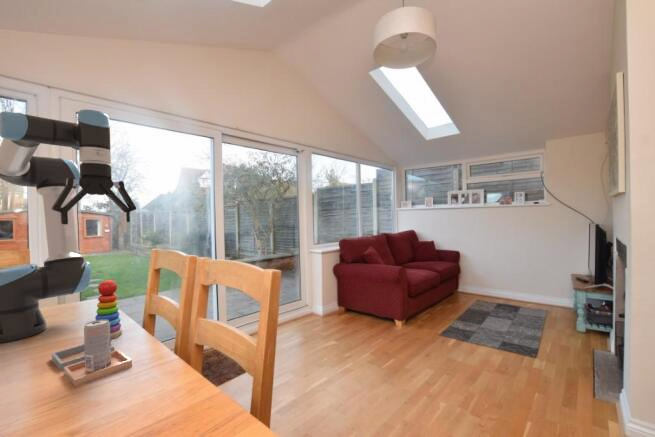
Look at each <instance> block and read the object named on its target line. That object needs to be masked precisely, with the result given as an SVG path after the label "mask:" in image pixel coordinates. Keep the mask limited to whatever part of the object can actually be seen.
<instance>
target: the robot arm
mask: <svg viewBox="0 0 655 437" xmlns="http://www.w3.org/2000/svg"><path fill="white" fill-rule="evenodd" d="M76 120H77V123H75V122H70V121H64V120H59V119H51V118H46V117H41V116H36V115H30V114H24V113H21V112H12V111H6V110H5V111H1V112H0V138H3V139H2V141H1V143H0V179H1V180H3V181H5V182H6V183H9V184H11V185H14V186H20V187H29V188H30V187H32V188H36V193H37V194H39V195H40V196H42V202H43V204H42V205H43V212H44V213H43V214H44V224H45V234H46V243H47V253H48V254H47V255H48V256H47V258H46V259H45V260H43V266H39V265H38V264H37V263H26V264H20V265H15V266H14V265H13V266H9V267H5V268H2V269H0V344H1V343H7V342H13V341H17V340H22V339H25V338H29V337H32V336H35V335H38V334H41V333H42V332H44V331H45V330H46V329H47V320H46V319H45V317H44V315H43V313H42V311H41V309H40V306H39V305H40V303H39V301H40V300H45V299H52V298H56V297H57V298H58V297H62V296H68V295H74V294H77V293H78V294H79V293H81V292H82V293H83V292H84V291H86V290H87V289H88V288H89V286H90V283H91V279H92V266H91V263H90V262H89V261H87V260H85V258H84V256H83V255H81V254H79V249H78V240H77V231H76V230H77V229H76V222H75V212H74V207H75V205H77V203H79V202H80V201H81V200H82V199H83V198H84V197H85V196H86V195H90V196H94V195H98V196H105V195H106V196H107V197H108V198H109V199H110V200H111V201H112V202H113V203H114V204H115V205H116V206H118V208H120V210H121V211H122V212H120V233H122V234H128V227H127V226H128V225H127V224H128V223H130V221H131V215H130V214H131V212H133V211H136V210H137V207H136V206H137V205H135V203H134V201H133V200H132V197H131V196H130V195H129V192H127V190H126V188H125V183H124V181H123V180H121V181H114V180H113V179H112V178H113V177H112V166H111V165H110V164H111V163H112V157H111V156H112V154H111V153H112V152H111V123H110V117H109V115H108V114H107V113H106V112H102V111H99V110H95V109H79V111H78V113H77V119H76ZM41 144H43V145H51V146H52V145H53V146H58V147H66V148H67V147H68V148H71V149H73V150H76V151H78V152H79V153H78V154H79V155H78V156H79V157H78V158H79V159H78V160H79V163H80V164H79V167H78V165H77V164H76V163H75V162H74V161H73V160H70V159H65V158H64V159H63V158H62V157H58V158H55V157H45V156H34V154H35V153H36V151H37V150H38V147H39V146H40V145H41ZM80 187H81V189H80V190H79V191H78V193H77V194H76V195H75V196H73V195H74V194H75V193H76V192H77V189H79V188H80ZM113 187H114V188H115V189H117V191H118V192H119V194H120V195H121V197H122V199H123V201H124V202H125V203H124V202H123V201H122V200H121V199H120V198H119V196H117V195H116V194H115V192H114V191H113V190H112V188H113Z"/></svg>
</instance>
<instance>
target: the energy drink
mask: <svg viewBox="0 0 655 437" xmlns="http://www.w3.org/2000/svg"><path fill="white" fill-rule="evenodd" d="M83 336H84V341H83V344H84V346H85V351H84V356H85V371H86V372H88V373H93V372H96V371H98V370H101V369H104V368H107V367H110V365H111V345H112V344H111V339H110V323H109V320H107V319H101V320H96V319H94V320H91V321H89V322H86V323H85V324H84V328H83Z"/></svg>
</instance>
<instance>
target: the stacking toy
mask: <svg viewBox="0 0 655 437" xmlns="http://www.w3.org/2000/svg"><path fill="white" fill-rule="evenodd" d="M97 288H98V289H97V291H98V293H99V294H100V296H98V303H97V305H96V306H97V309H96V316H95V319H94V320H101V319H107V320H109V323H110V340H111V339H114V338H115V339H116V338H117V337H119V336H121V335H122V333H123V330H122V328H121V327H122V324H121V323H120V322H121V318H120V312H119V309H120V308H119V305H118V301H117V298H118V296H117V294H116V291H117V289H118V286H117V283H116V282H115V281H114V280H110V279H107V280H104V281H102V282H100V283H99V285H98V287H97Z"/></svg>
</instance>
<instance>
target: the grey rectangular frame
mask: <svg viewBox="0 0 655 437" xmlns="http://www.w3.org/2000/svg"><path fill="white" fill-rule="evenodd" d="M112 351H115V346H113V344H111V352H112ZM81 352H85V346H84V343H82V344H79V345H76V346H73V347H69V348H66V349H62V350H58V351H55V352H52V353H51V361H53V363H54V365H55V366H57V368H58V369H59V370H60V371H64V367H66V366H69V365H72V364H75V363H78V362H81V361H85V355H81V356H78V357H75V358H72V359H69V360H66V361H63V360H61V359H62V358H65V357H68V356H71V355H75V354H79V353H81Z"/></svg>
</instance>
